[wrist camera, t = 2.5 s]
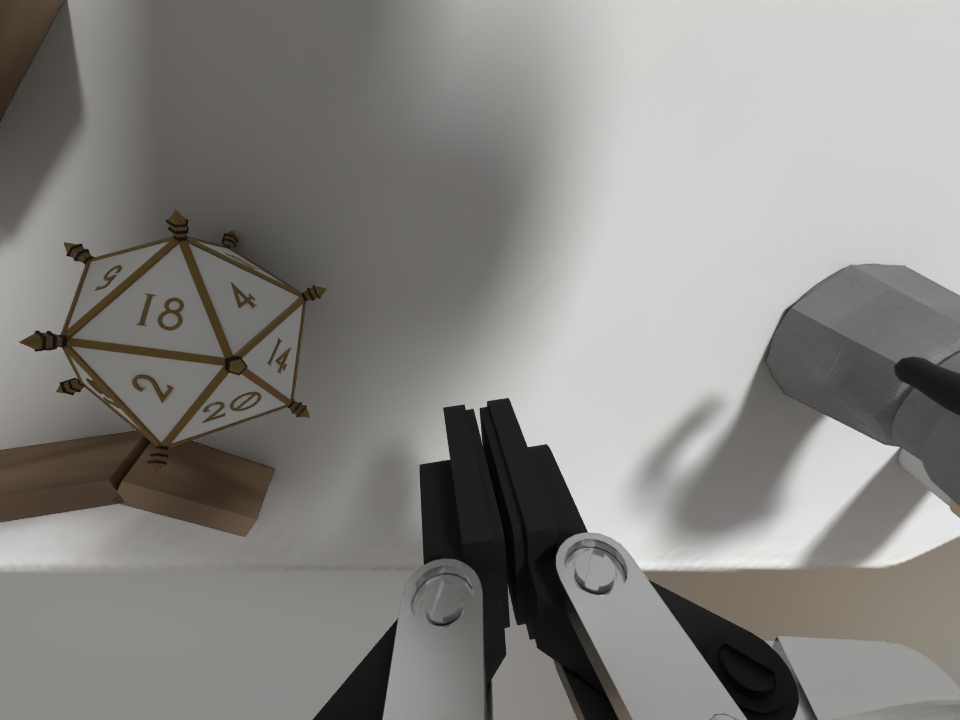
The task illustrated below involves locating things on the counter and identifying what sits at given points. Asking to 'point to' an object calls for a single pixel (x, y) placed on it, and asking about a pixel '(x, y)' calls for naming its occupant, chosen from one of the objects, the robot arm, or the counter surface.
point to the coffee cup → (924, 478)
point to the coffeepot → (879, 361)
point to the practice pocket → (118, 457)
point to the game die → (182, 337)
